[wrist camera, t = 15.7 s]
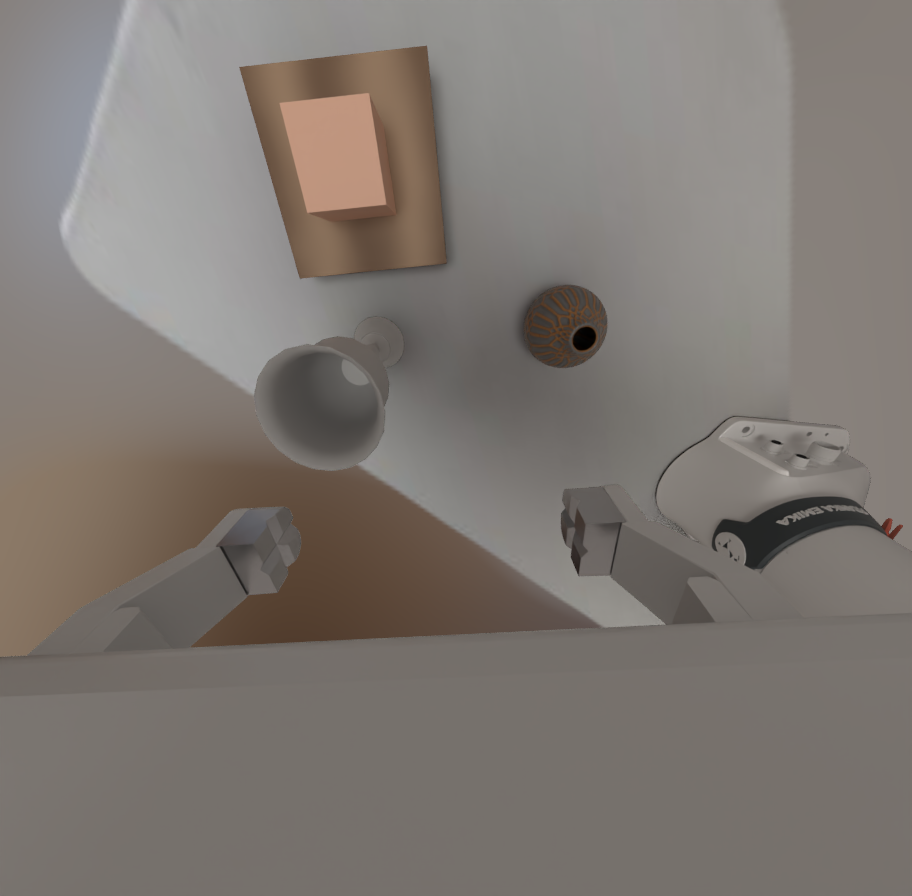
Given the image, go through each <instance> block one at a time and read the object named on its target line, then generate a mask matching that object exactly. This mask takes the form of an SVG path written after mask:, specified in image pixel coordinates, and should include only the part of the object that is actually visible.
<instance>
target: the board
mask: <svg viewBox="0 0 912 896" xmlns="http://www.w3.org/2000/svg"><path fill="white" fill-rule="evenodd" d="M239 68H240V71H241V75H242V78H243V82H244V85H245V89H246V92H247V96H248V99H249V103H250V106H251V109H252V113H253V116H254V120H255V123H256V127H257V130H258V134H259V137H260V141H261V144H262V148H263V151H264V155H265V158H266V162H267V165H268V169H269V172H270V176H271V179H272V183H273V186H274V190H275V193H276V197H277V200H278V204H279V207H280V211H281V214H282V218H283V221H284V225H285V228H286V232H287V235H288V239H289V242H290V246H291V249H292V253H293V256H294V260H295V263H296V267H297V270H298V274H299V277H300V278H309V277H319V276H329V275H339V274H349V273H358V272H368V271H378V270H387V269H397V268H407V267H417V266H426V265H436V264H446V263H447V262H446V251H445V240H444V229H443V217H442V206H441V195H440V184H439V173H438V162H437V151H436V140H435V129H434V118H433V107H432V96H431V85H430V74H429V62H428V51H427V46H421V47H412V48H403V49H394V50H386V51H377V52H368V53H359V54H350V55H342V56H333V57H324V58H315V59H307V60H298V61H289V62H280V63H271V64H263V65H254V66H245V67H239ZM364 93H369V94H370V96H371V99H372V101H373V103H374V105H375V108H376V110H377V112H378V115H379V117H380V119H381V121H382V124H383V126H384V132H385V139H386V146H387V153H388V160H389V167H390V174H391V180H392V187H393V194H394V201H395V208H396V215H391V216H382V217H372V218H363V219H353V220H344V221H334V222H330V221H328V220H325V219H322V218H320V217H317V216H314V215H312V214H309V213H307V210H306V206H305V202H304V198H303V194H302V190H301V186H300V182H299V178H298V174H297V170H296V166H295V162H294V158H293V155H292V151H291V147H290V143H289V139H288V135H287V131H286V127H285V123H284V119H283V115H282V111H281V107H280V103H283V102H292V101H301V100H310V99H319V98H328V97H337V96H346V95H355V94H364Z"/></svg>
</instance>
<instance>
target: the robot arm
mask: <svg viewBox="0 0 912 896" xmlns="http://www.w3.org/2000/svg"><path fill="white" fill-rule="evenodd" d="M743 428H744V429H743ZM849 445H850V437H849V432H848V431H847V430H846V429H844V428H842V427H840V426H836V425H825V424H814V423H803V422H792V421H781V420H770V419H758V418H747V417H732V418H730V419H728V420H727V421H725V422H724V423H723V424H722V425H721V426H720V427H718V428H717V429H716V430H715V432H714V433H713V434H712V435H711V436H709V437H708V438H707V439H705V440H704V441H702V442H700V443H698V444H697V445H695V446H693V447H692V448H690V449H688V450H687V451H686V452H684V453H683V454H682V455H681V456H679V457H678V458H677V459H676V460H675V461H674V462H673V463H672V464H671V465H670V466H669V468H668V469H667V470H666V472H665V473H664V475H663V477H662V478H661V480H660V483H659V485H658V489H657V494H656V500H657V505H658V508H659V510H660V512H661V513H662V514H663V515H664V516H665V517H666V518H667V519H669V520H670V521H672V522H674V523H675V524H677V525H678V526H679V527H681V528H682V529H683V530H684V532H685V533H686V534H687V535H688V536H689V537H690V538H691V539H690V538H688V537H686V536H684V535H682V534H680V533H678V532H676V531H674V530H672V529H670V528H668V527H666V526H664V525H662V524H660V523H658V522H656V521H648V520H647V518H646V517H645V516H644V515H643V513H642V512H641V511H640V509H639V508H638V507H637V506H636V504H635V503H634V502H633V501H632V499H631V498H630V497H629V496H628V494H627V493H626V492H625V490H624V489H623V488H622V487H621V486H620V485H607V486H600V487H589V488H575V489H565V490H564V492H563V499H562V501H563V503H564V506H565V509H564V511H563V512H562V513H561V531H562V535H563V539H564V542H565V544H566V546H568V547H569V548H571V549H572V550H571V559H572V562H573V564H574V566H575V569H576V571H577V574H578V576H607V575H611V578H613V579H614V580H615V581H616V582H617V583H618V584H620V585H621V586H622V587H623V588H624V589H625V590H627V591H628V592H629V593H630V594H631V595H632V596H634V597H635V598H636V599H637V600H638V601H639V602H641V603H642V604H643V605H644V606H645V607H647V608H648V609H649V610H650V611H651V612H652V613H654V614H655V615H656V616H657V617H658V618H659V619H661V620H662V621H663V622H664V623H665V624H666V625H649V626H629V627H608V628H589V629H567V630H546V631H526V632H506V633H485V634H463V635H443V636H425V637H424V636H422V637H404V638H403V637H401V638H381V639H360V640H340V641H320V642H298V643H278V644H258V645H239V646H217V647H196V648H189V647H190V646H192V644H194V643H195V642H196V641H197V640H198V639H200V638H201V637H202V636H203V635H204V634H205V633H206V632H208V631H209V630H210V629H211V628H212V627H213V626H214V625H216V624H217V623H218V622H219V621H220V620H221V619H222V618H224V617H225V616H226V615H227V614H228V613H229V612H230V611H232V610H233V609H234V608H235V607H236V606H237V605H238V604H239V603H241V602H242V601H243V600H244V599H245V598H246V597H247V595H253V594H266V593H277V592H278V590H279V589H280V587H281V585H282V584H283V582H284V580H285V578H286V576H287V574H288V570H287V567H288V566H289V565H290V564H292V563H293V562H294V561H295V560H296V558H297V556H298V555H299V552H300V546H301V538H300V534H299V531H298V529H297V528H295V527H294V526H293V525H291V521H292V519H293V516H292V514H291V512H290V510H289V509H288V508H286V507H268V508H252V509H251V508H247V509H236V510H233V511H230V513H228V515H227V516H226V517H225V518H224V519H223V520H222V521H221V522H220V523H219V524H218V525H217V526H216V527H215V528H214V529H213V531H212V532H210V534H209V535H208V536H207V537H206V538H205V539H204V540H203V541H202V542H201V543H200V544H199V545H198V546H197V547H196V548H192V549H188V550H186V551H185V552H183V553H181V554H179V555H177V556H176V557H174V558H172V559H170V560H168V561H166V562H164V563H163V564H161V565H159V566H157V567H155V568H153V569H151V570H150V571H148V572H146V573H144V574H142V575H140V576H138V577H137V578H135V579H133V580H131V581H129V582H127V583H126V584H124V585H122V586H120V587H118V588H116V589H115V590H113V591H111V592H109V593H107V594H105V595H103V596H102V597H100V598H98V599H96V600H94V601H92V602H91V603H89V604H87V605H85V606H83V607H81V608H80V609H79V610H77V611H76V612H75V613H74V614H73V615H72V616H71V617H69V618H68V619H67V620H66V621H65V622H64V623H63V624H62V625H61V626H59V627H58V628H57V629H56V630H55V631H54V632H53V633H52V634H50V635H49V636H48V637H47V638H46V639H45V640H44V641H43V642H41V643H40V644H39V645H38V646H37V647H36V648H35V649H34V650H32V652H30V653H29V654H28V655H27V656H10V657H0V896H912V551H910V550H909V549H907V548H905V547H904V546H902V545H901V544H899V543H897V542H896V541H894V540H893V539H894V537H895V536H896V535H897V533H898V532H899V531H900V529H901V528H902V527H903V525H899V526H897V527H896V528H895V529H894V530H893V531H892V532H891V533H890V534H889V530H890V529H891V524H892V519H890V518H888V519H887V520H886V521H885V522H884V523H883V525H882V526H880V525H879V524H878V523H877V522H876V521H875V519H874V518H872V516H871V515H870V514H869V513H868V512H867V511H866V510H865V509H864V504H865V500H866V497H867V494H868V490H869V486H870V479H871V478H870V472H869V470H868V468H867V467H866V466H865V465H864V464H863V463H861V462H860V461H858V460H856V459H855V458H853V457H851V456H849V455H847V454H848V450H849ZM692 539H693V540H692ZM694 540H697V541H698V542H699V543H698V542H696V541H694Z"/></svg>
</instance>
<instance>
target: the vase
mask: <svg viewBox="0 0 912 896" xmlns="http://www.w3.org/2000/svg"><path fill="white" fill-rule="evenodd" d="M606 332H607V315H606V311H605V309H604V306H603V305H602V303H601V301H600V300H599V299H598V298H597V296H596V295H595V294H593V293H592V292H591V291H589V290H587V289H585V288H582V287H579V286H573V285H564V286H558V287H554V288H552V289H550V290H548V291H546V292H544V293H543V294H542V295H540V296H539V297H538V298H537V299H536V300H535V301H534V302H533V304H532V305H531V307H530V308H529V310H528V312H527V315H526V318H525V322H524V337H525V341H526V344H527V346H528V348H529V350H530V351H531V353H532V354H533V355H534V356H535V357H536V358H537V359H538V360H539V361H541V362H542V363H544V364H546V365H549V366H552V367H557V368H568V367H573V366H577V365H579V364H582V363H584V362H585V361H587V360H588V359H590V358H591V357H592V356H593V355H594V354H595V353H596V352H597V351H598V350H599V348H600V347H601V345H602V343H603V341H604V339H605V336H606Z"/></svg>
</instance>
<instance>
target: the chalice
mask: <svg viewBox="0 0 912 896" xmlns="http://www.w3.org/2000/svg"><path fill="white" fill-rule="evenodd" d="M403 351H404V340H403V335H402V333H401V332H400V330H399V328H398V327H397V326H396V325H395V324H394V323H393V322H392V321H390V320H388V319H386V318H383V317H377V316H376V317H370V318H367V319H365V320H364V321H362V322H361V323H360V324H359V326H358V327H357V328H356V331H355V334H354V339H352V338H345V337H338V336H337V337H333V338H328V339H324V340H322V341H320V342H318V343H317V344H315V345H309V344H306V345H302V346H297V347H293V348H288V349H285V350H283V351H282V352H280V353H279V354H278V355H276V356H275V357H273V358H272V359H270V360H269V361H268V362H267V364H266V365H265V367H264V368H263V370H262V372H261V373H260V375H259V376H258V379H257V384H256V389H255V393H254V400H255V407H256V415H257V417H258V420H259V422H260V424H261V427H262V429H263V431H264V433H265V435H266V436H267V437H268V438H269V440H270V441H271V442H272V443H273V444H274V445H275V447H276V448H277V449H278V450H279V451H280V452H282V453H283V454H284V455H286V456H287V457H289V458H290V459H292V460H293V461H294V462H297V463H299V464H302V465H304V466H307V467H310V468H312V469H320V470H329V471H335V470H340V469H345V468H350V467H352V466H354V465H356V464H358V463H360V462H361V461H363V460H365V459H366V458H367V457H368V456H369V455H370V454H371V453H372V452H373V451H374V450H375V448H376V447H377V446H378V443H379V441H380V439H381V436H382V434H383V432H384V423H385V409H384V406H385V404H386V401H387V399H388V393H389V381H388V377H387V372H386V369H385V368H386V367H390V366H392V365H394V364H396V363H397V361H398V360H399V359H400V358H401V356H402V354H403Z"/></svg>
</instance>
